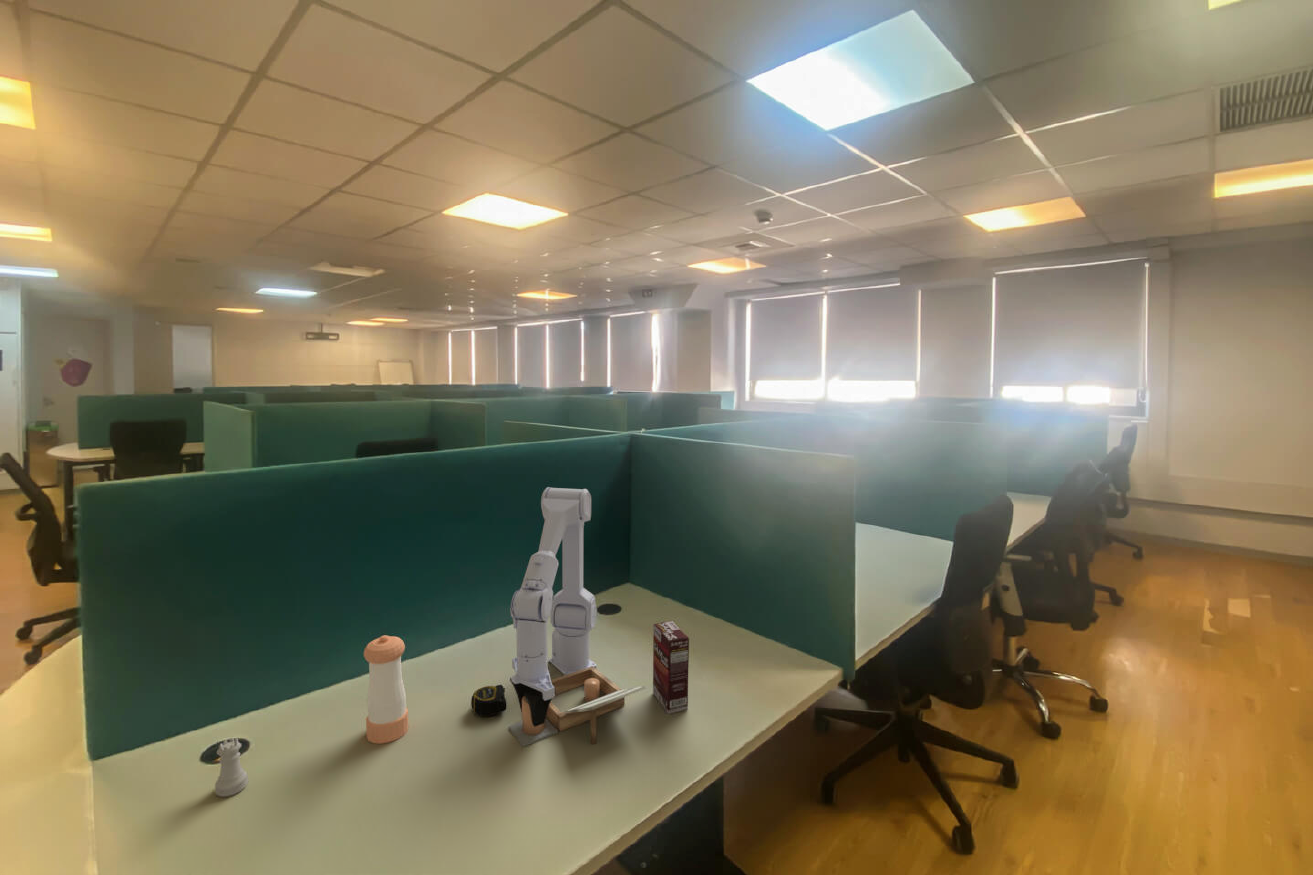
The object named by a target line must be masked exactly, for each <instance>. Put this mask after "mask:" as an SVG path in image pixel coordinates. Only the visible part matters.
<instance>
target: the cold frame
mask: <svg viewBox="0 0 1313 875" xmlns="http://www.w3.org/2000/svg"><path fill="white" fill-rule="evenodd" d="M590 678H595V679H598V680H599V691H601V692H602V693H603V694H604V696H601V697H600V696H599V698H598V699H595V700H593V701H590V702H588V701H586V702H585V703H582V704H580V705H578V706H575V707H572V708H570V709H568V710H567V709H566V710H565V711H561V709H559V708H558V707H557V706H556V705H555V704H554V703H553V702H552V701H551V702H550V704H549V707H548V710H547V714H546V719H547V720H548V721H549V722H550V723H551V724H552V725H553V726H554V727H555V728H556V729H557V730H558V731H559V732H564V731H566V730H568V729H571V728H572V727H575V726H578V725H580V724H582V723H585V722H588V721H590V744H592V745H595V744H596V743H597V717H600V716H602V715H605V714H607V713H609V712H612V711H613V710H616V709H618V708H621V707H623V706H625V700H626V699H625V698H626V697H628V696H630V695H633V694H635V693H638V692H640V691H643V690H646V686H645V685H643V686H637V687H631V688H626V689H622V688H621V687H620V686H618V685H617V684H615V683H614V682H613V681H612V680H611V679H610V678H608V677H607V676H605V675H604V674H603V673H602V672H600V671H599V670H598V669H597V668H596V667H595V668H594V667H593V666H591V667H588V668H585V669H582V670H579V671H576V672H574V673H571V674H568V675H562V676H560V677H556V678H553V679H551V683H552V685H553V686H554V687H555V689H556V693H555V696H556V695H559V694H561V693H564V692H566V691H570V690H572V689H576V688H577V687H581V686H583V685H584V682H585V680H587V679H590Z"/></svg>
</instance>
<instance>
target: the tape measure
mask: <svg viewBox="0 0 1313 875" xmlns="http://www.w3.org/2000/svg"><path fill="white" fill-rule="evenodd" d="M505 692H506V688H505V687H504V686H503V684H497V685H495V686H493V685H485V686H483V687H480V688H478V689H476V690H475V691H474V693H473V694H472V696H471V700H470V701H471V702H470V703H471V704H470V705H471V707H470V708H471V709H472V711H473V713H474V714H475V715H478V716H480V717H491V716H493V715H496V714H501V713H503V712H505V711H506V710H507V705H508V703H507V699H506V696H505Z"/></svg>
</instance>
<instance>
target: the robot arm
mask: <svg viewBox="0 0 1313 875" xmlns="http://www.w3.org/2000/svg"><path fill="white" fill-rule="evenodd" d="M540 499H541V500H540V508H541V513H542V517H543V519H544V524H543V528H542V533H541V536H540V543H539V547H538V551H537V552H535V553H533V554H532V555H531V556H530V559H529V562H528V564H527V568H526V571H525V574H524V577H523V581H522V584H521V586H520V588H519V589H517V590H516V591H515V592H514V594H513V595H512V597H511V598H512V599H511V603H510V609H509V611H510V616H511V619H512V623H513V624H512V625H513V628H514V629H515V631H516V656H515V657H513V658H511V662H512V663H511V666H512V669H513V670H514V672H515V674H514V675H512V676H511V677H510V678H509V681H510V683H511V684H512V686H513V688H514V691H515V693H516V695H517V700H518V704H519V709H520V711H521V712H522V698H523V697H524V696H525V697H526V699H527V701H528V703H529V707H530V712H531V719H532V723H533V726H534V727H536V726H538V725H541V724H543V723H544V722H545V718H546V719H547V717H546V714H547V710H548V707H549V704H550V702H552V700H553V699H554V698H555V697H556V695H555V693H556V689H555V687H554V686H553V685H552V683H551V680H552V679H551V676H550V670H549V669H548V662H550V663H551V664H552V666H554V667H555V668H556V669H558V670H559V671H560V672H561V673H562V674H563V676H565V675H568V674H571V673H574V672H576V671H579V670H582V669H585V668H588V667H591V666H593V667H594V668H595V669H596V668H597V664H596V663H595V662H594V661H592V660H591V659H590V631H592V630H593V629H594V628H595V626H596V622H597V615H598V614H597V613H598V612H597V611H598V610H597V605H596V597H595V595H594V594H593V593H592V592H590V591H588V589H586V588H585V587H584V527H585V522H589V521H591V517H592V495H591V493H590V492H589V489H587V488H583V489H580V488H561V487H559V488H558V487H549V486H548V487H546V488H545V489H544V490H543V492H542V495H541V498H540ZM561 542H562V546H561V547H562V552H561V553H562V554H561V555H562V562H561V563H562V565H561V566H562V569H561V570H562V589H561V590H559V591H558V592H557V593H556V594H554V591H553V586H554V583H555V579H556V575H557V571H558V568H559V565H560V564H559V560H558V559H557V557H556V556H557V553H558V550H559V548H560V545H561ZM548 619H549V620H550V624H551V626H552V627H553V628H554V629H553V631H552V634H551V657H550V658H548Z"/></svg>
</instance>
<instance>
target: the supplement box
mask: <svg viewBox="0 0 1313 875" xmlns="http://www.w3.org/2000/svg"><path fill="white" fill-rule="evenodd" d="M652 639H653V645H652V646H653V648H652V649H653V650H652V652H653V655H652V656H653V657H652V659H653V660H652V661H653V662H652V669H653V670H652V693H653V695H654V696H655V697H656V698H657V700H658V701H659V703H660V704H661V705H662V707H663V709H664V710H665V711H666V714H668V715H669V714H674V713H678V712H682V711H686V710H688V707H689V706H688V704H689V695H688V694H689V662H690V660H689V658H690V657H689V655H690V637H689V636H688V635H686V634H685V633H684V632H683V631H682V629H680V628H679V627H678V626H677V624H675V622H674V621H673V620H670V621H669V620H668V621H662V622H658V623H654V624H653V638H652Z"/></svg>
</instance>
